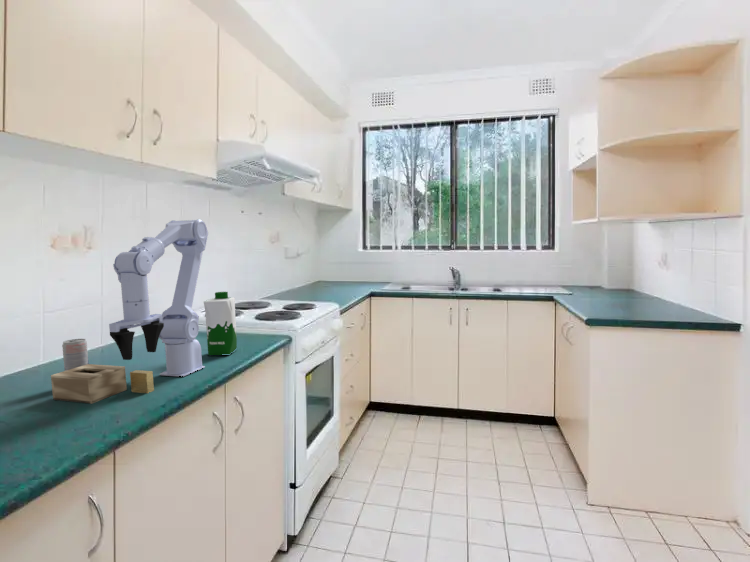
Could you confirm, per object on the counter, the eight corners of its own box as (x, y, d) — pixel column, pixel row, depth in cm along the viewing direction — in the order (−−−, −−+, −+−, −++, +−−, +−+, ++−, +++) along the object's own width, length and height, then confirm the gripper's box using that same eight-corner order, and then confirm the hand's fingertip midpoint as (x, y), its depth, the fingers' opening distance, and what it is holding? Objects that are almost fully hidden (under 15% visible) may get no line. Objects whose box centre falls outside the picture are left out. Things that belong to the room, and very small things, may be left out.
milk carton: (240, 349, 157) (236, 291, 155) (231, 356, 148) (227, 294, 146) (214, 350, 157) (211, 291, 155) (203, 357, 148) (199, 295, 146)
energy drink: (85, 381, 125) (82, 337, 124) (93, 384, 122) (89, 339, 121) (63, 386, 121) (58, 341, 120) (70, 390, 117) (66, 343, 116)
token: (137, 389, 117) (136, 370, 116) (154, 390, 115) (152, 371, 115) (131, 392, 115) (129, 372, 114) (147, 393, 113) (146, 373, 113)
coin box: (90, 386, 120) (88, 364, 119) (126, 389, 116) (124, 366, 116) (53, 399, 110) (50, 375, 110) (91, 403, 107) (89, 378, 106)
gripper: (124, 305, 105) (129, 364, 106) (170, 297, 119) (174, 349, 120) (100, 304, 107) (105, 362, 108) (148, 297, 121) (152, 348, 122)
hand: (139, 355), depth 114 cm, fingers open, 7 cm apart
